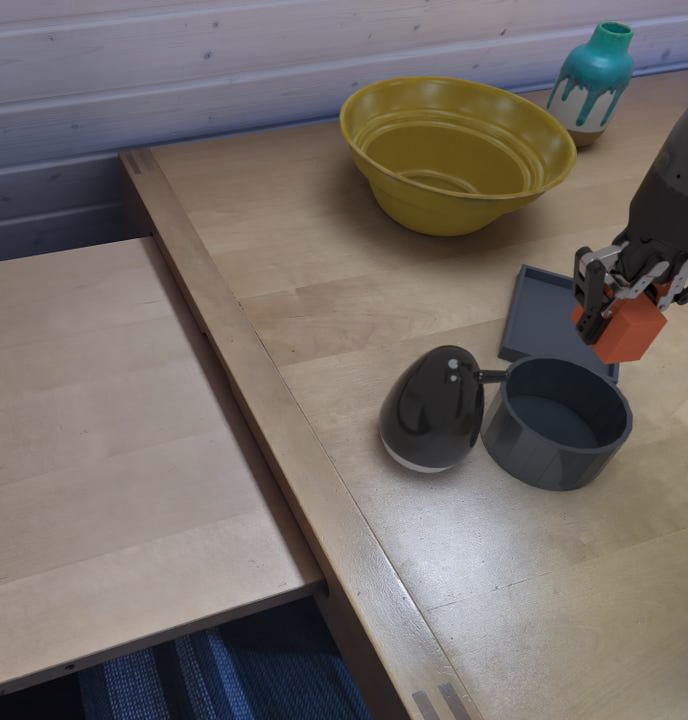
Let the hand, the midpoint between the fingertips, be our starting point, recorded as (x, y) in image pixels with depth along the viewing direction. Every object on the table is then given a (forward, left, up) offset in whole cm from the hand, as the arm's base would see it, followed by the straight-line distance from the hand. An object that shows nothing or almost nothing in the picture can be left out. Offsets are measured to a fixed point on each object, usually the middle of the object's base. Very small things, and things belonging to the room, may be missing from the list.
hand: (605, 335), depth 64 cm
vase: (-37, -60, -19) cm, 73 cm away
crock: (-2, -1, -19) cm, 19 cm away
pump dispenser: (+12, -2, -19) cm, 22 cm away
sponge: (0, 0, 0) cm, 0 cm away
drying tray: (-13, -17, -19) cm, 29 cm away
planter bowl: (-6, -44, -19) cm, 49 cm away
